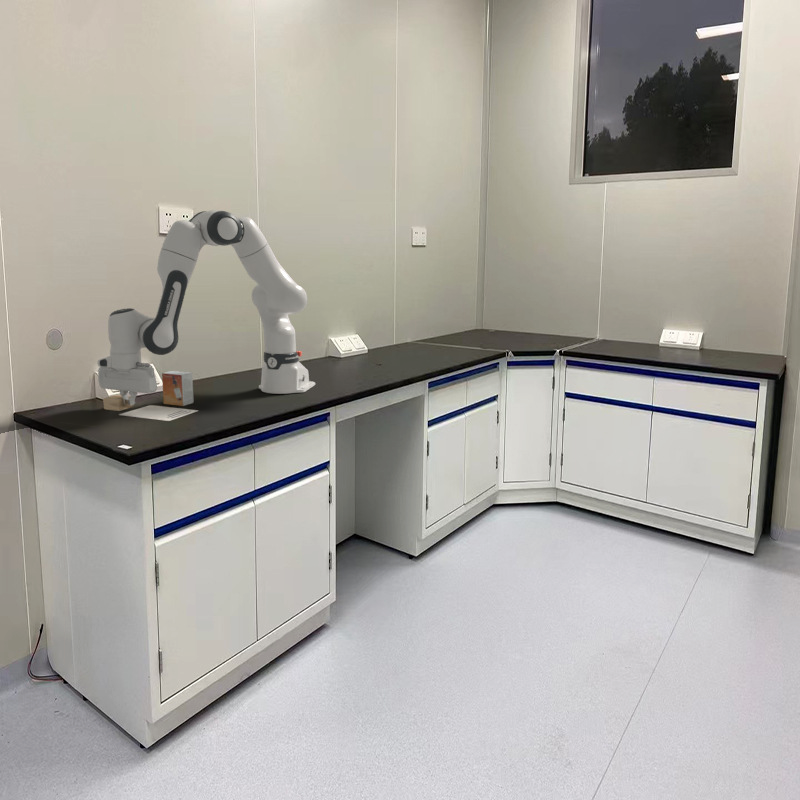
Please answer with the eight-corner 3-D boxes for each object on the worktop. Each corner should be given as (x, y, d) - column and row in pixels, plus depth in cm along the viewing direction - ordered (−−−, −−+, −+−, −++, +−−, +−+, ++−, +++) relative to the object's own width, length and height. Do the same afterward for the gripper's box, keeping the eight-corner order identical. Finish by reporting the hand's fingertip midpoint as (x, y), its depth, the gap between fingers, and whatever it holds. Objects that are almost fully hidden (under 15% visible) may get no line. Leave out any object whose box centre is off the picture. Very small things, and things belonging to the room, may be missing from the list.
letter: (150, 405, 213) (150, 404, 213) (198, 411, 207) (198, 410, 207) (118, 415, 201) (118, 414, 200) (168, 421, 194) (168, 420, 194)
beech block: (118, 406, 213) (117, 394, 212) (133, 408, 211) (132, 396, 210) (104, 410, 207) (103, 398, 206) (119, 412, 205) (118, 400, 204)
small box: (163, 404, 215) (161, 373, 213) (174, 400, 220) (172, 370, 218) (183, 406, 213) (181, 374, 210) (194, 403, 218) (192, 371, 215)
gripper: (160, 362, 203) (163, 405, 206) (108, 357, 210) (111, 399, 213) (145, 365, 198) (149, 409, 201) (93, 360, 204) (96, 403, 207)
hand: (129, 404), depth 207 cm, fingers closed
